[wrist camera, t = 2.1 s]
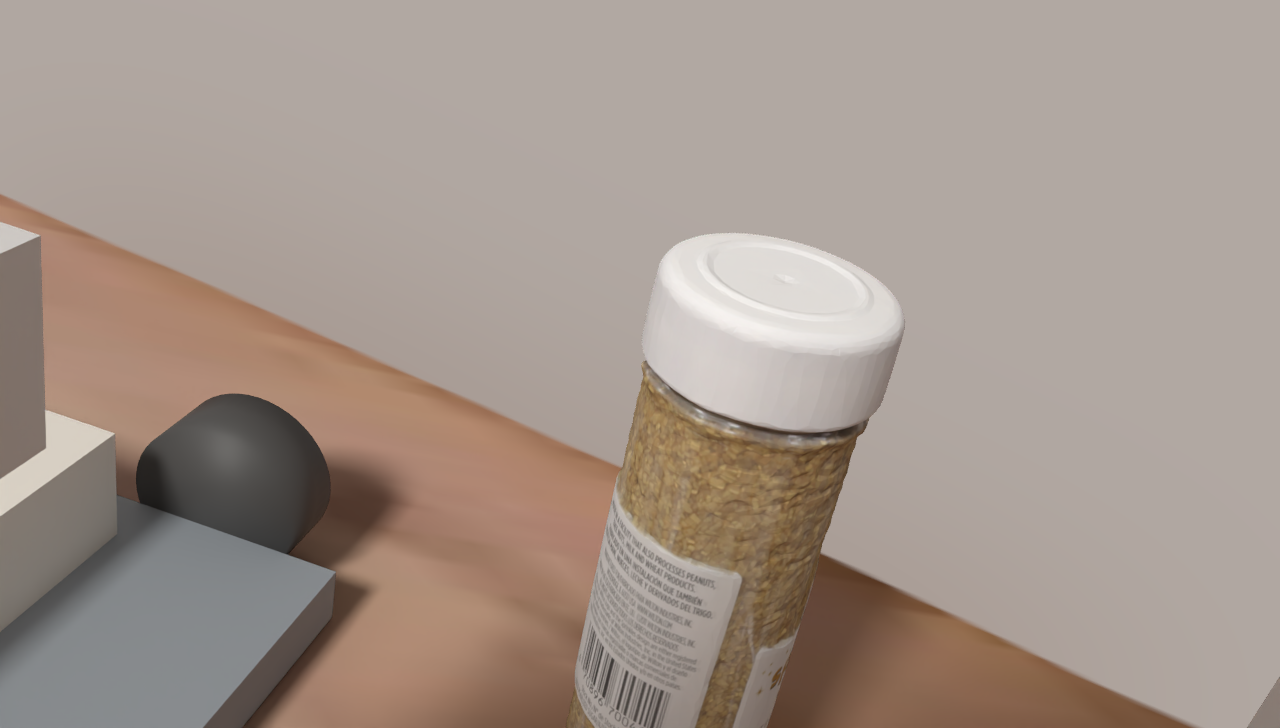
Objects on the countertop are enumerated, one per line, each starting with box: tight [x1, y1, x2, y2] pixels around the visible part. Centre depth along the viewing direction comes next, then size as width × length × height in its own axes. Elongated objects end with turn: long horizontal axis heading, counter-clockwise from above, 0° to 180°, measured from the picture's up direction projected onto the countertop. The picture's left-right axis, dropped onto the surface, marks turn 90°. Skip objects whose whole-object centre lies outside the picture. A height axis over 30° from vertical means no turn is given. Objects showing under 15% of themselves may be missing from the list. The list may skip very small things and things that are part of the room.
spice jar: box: [566, 233, 905, 728], centre depth 24 cm, size 5×5×14 cm
